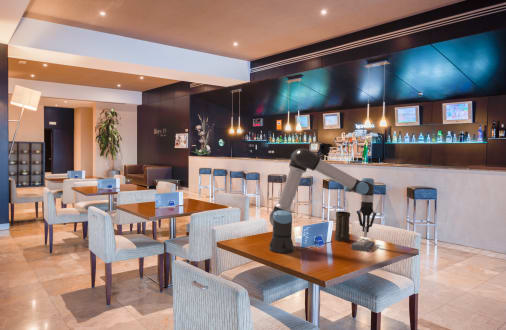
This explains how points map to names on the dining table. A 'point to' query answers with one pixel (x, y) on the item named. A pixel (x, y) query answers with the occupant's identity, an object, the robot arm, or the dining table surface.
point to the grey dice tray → (363, 248)
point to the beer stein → (342, 226)
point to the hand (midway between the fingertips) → (365, 236)
